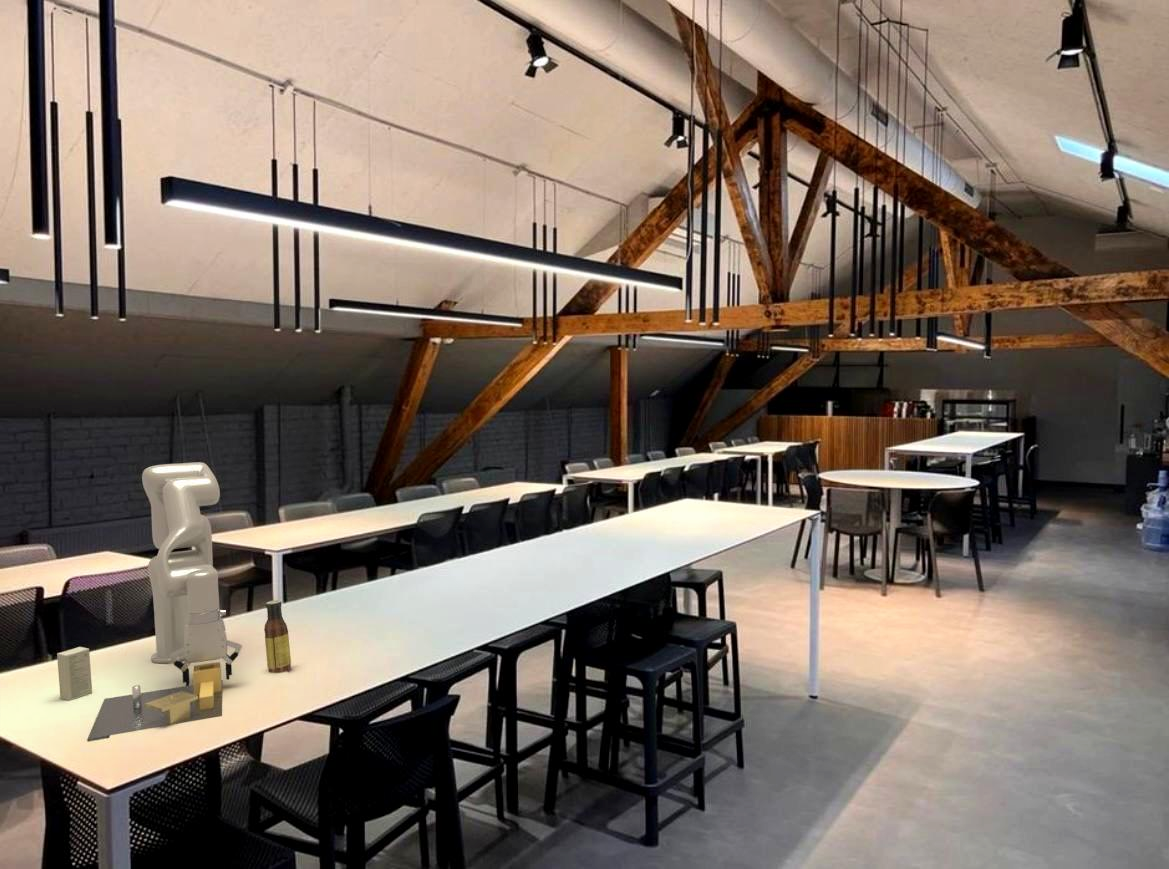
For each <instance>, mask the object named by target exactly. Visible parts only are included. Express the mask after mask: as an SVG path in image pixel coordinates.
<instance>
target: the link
mask: <svg viewBox="0 0 1169 869" xmlns="http://www.w3.org/2000/svg"><path fill="white" fill-rule="evenodd" d="M192 669H193V670H192V679H193V680H192V682H193V685H194V695H200V697H199V700H200V710H202V709H208V708H213V706H214V692H219V691H221V680H222V672H221V669H222V668H221V662H220V661H216V662H211V663H209V662H208V663H203V664H195V665H193V668H192Z"/></svg>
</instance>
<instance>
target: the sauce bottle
mask: <svg viewBox="0 0 1169 869" xmlns="http://www.w3.org/2000/svg"><path fill="white" fill-rule="evenodd" d="M265 608H266V613H267V617H266V618H267V619H266V621H265V623H264V641H265V652H266V664H267V669H268V672H269V673H273V674H279V673H283V672H289V671H290V670H291V668H292V666H291V665H292V664H291V663H292V661H291V660H292V659H291V650H290V639H289V636H290V635H289V630H288V625H287V623H286V622H285V620H284V618H283V613H282V601H281V600H279V599H278V600H277V599H276V600H275V599H274V600H269V601H267V602H266V603H265Z"/></svg>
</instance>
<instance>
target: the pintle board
mask: <svg viewBox="0 0 1169 869" xmlns="http://www.w3.org/2000/svg"><path fill="white" fill-rule="evenodd" d="M223 681H224V680H222V679H221V691H219V692H214V706H213V708H208V709H202V710H200V700H199V697H200V695H194V684H189V685H188V686H186V685H183V686H178V687H177V686H176V687H170V688H164V689H159V690H153V691H152V690H151V691H145V692H142V691H141V685H140V684H138V685H133V686H132V687H131V689H132V690H131V692H132V693H131V694H127V695H119V696H113V697H108V698H107V697H106V698H104V699H103V701H102V704H101V706H100V708H99V710H98V713H97V715H96V718H95V720H94V723H93V725H92V728H91V730H90V732H89V735H88V737H87V738H86V740H87V742H91V741H97V740H102V739H108V738H110V737H111V736H114V735H121V734H125V733H132V732H138V731H144V730H148V729H154V728H155V729H157V728H161V727H162V728H163V727H166V726H173V725H178V724H184V723H190V722H196V721H202V720H208V719H212V718H214V719H215V718H218V717H222V716H223V693H224V692H223V688H224V686H223V683H224V682H223Z"/></svg>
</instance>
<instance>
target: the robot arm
mask: <svg viewBox="0 0 1169 869" xmlns="http://www.w3.org/2000/svg"><path fill="white" fill-rule="evenodd" d="M141 479H142V480H141V481H142V485H143V490H144V491H145V494H146V496H147V498H148V501H149V504H150V508H151V531H152V534H151V535H152V542H153V545H154V547H155V548H156V549H158V553H157V555H155V556H153V557H152V558H151V559H150V560H149V561H148V563H147V564H148V565H147V571H148V572H147V573H148V577H149V581H150V584H151V590H152V601H153V612H154V614H153V615H154V629H155V630H154V631H155V634H154V635H155V647H156V648H155V649H156V652H155V653H153V654H152V655H151V656H150V661H151V662H153V663H157V664H168V663H169V664H170V663H172V664H173V665H174V667H176V668H178V669H179V670H180V671H181V672H182V683H185V686H189V685H190V681H191V680H190V670H189V669H190V668H189V667H190V665H192V664H193V663H194V664H195V663H200V662H201V663H202V662H207V661H215V660H220V659H222V660H223V661H225V677H226V678H225V680H230V676H233V670H232V669H233V668H232V667H233V666H232V664H233V662H234V661H235V660H236V658H238V656H239V654H240V652H241V650H242V647H243V645H242V643H239V642H235V641H232V640H228V639H227V631H226V625H225V621H224V619H223V618H222V617H223V616H226V614H227V613H226V609H224V610H223V609H220V596H219V595H220V594H219V575H218V574H219V573H218V571H217V569H216V568H215V567H214V566H213V565H214V562H213V561H214V560H213V558H214V557H213V536H212V527H211V523H210V522H211V521H210V520H209V518H208V517H207V516H205V515H203V514H201V510H200V507H203V506H212V505H216V504H218V502H219V500H220V497H221V494H220V491H221V490H220V486H219V483H218V480H217V478H216V476H215V474H214V473H213V471H212V470H211V469H210V467H209V466H208V465H207V464H206V463H205V462H201V461H199V462H197V461H196V462H183V463H167V464H166V463H165V464H157V465H152V466H149V467H147V468H145V469H144V470H143V471H142V474H141ZM192 547H193V548H194V549H190V550H182V551H181V550H180V551H174V550H175V549H184V548H185V549H186V548H192ZM228 647H229V648H232V649H234V651H233V652H232V654H230V655H229V654H228ZM182 661H184V662H182Z"/></svg>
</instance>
